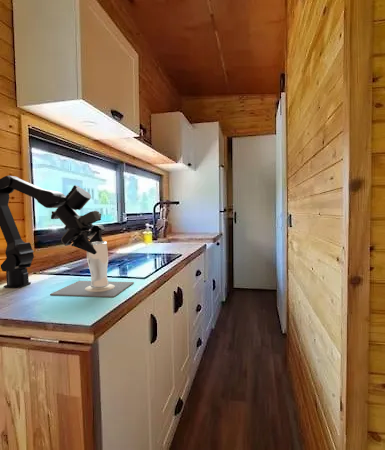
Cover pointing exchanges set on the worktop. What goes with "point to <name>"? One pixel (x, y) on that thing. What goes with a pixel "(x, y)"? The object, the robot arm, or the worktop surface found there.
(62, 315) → the worktop surface
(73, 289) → the slate mat
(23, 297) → the worktop surface
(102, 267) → the beer glass
